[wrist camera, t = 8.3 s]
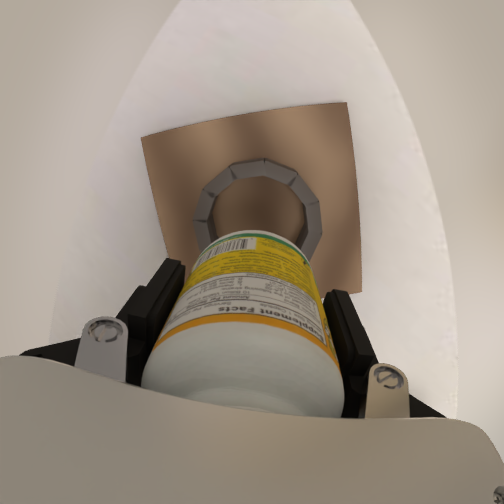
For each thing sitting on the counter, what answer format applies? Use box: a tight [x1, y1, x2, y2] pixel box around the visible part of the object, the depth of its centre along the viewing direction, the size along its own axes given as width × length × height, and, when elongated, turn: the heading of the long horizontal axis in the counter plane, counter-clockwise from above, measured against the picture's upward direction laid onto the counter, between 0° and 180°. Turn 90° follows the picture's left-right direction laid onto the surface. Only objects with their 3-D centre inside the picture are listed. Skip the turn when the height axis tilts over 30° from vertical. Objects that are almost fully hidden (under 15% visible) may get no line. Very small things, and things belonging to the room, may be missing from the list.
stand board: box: [141, 102, 362, 298], centre depth 23 cm, size 16×16×4 cm
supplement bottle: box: [141, 230, 344, 418], centre depth 9 cm, size 5×5×10 cm
